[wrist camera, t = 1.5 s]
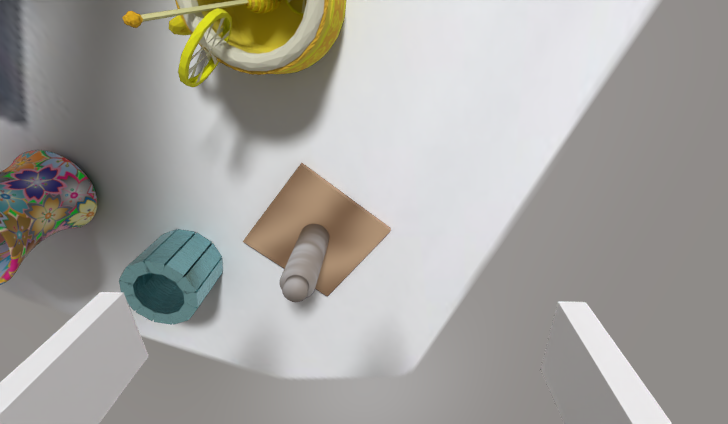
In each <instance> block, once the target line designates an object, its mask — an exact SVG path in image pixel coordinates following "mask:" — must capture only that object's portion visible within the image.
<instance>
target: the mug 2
mask: <svg viewBox="0 0 728 424" xmlns="http://www.w3.org/2000/svg"><path fill="white" fill-rule="evenodd" d="M175 1H176V5H177V8H178V9H175V10H169V11H162V12H155V13H149V14H142V15H140V14H136V13H135V12H133V11H128V12H127V13H126V15H124V16H123V17H122V18H123V21H124V23H125V24H126V25H129V26H131V27H134V28H138V27H139V26H140V25H141V23H142V22H144V21H150V20H155V19H161V18H167V17H173V16H176V17H175V18H173V19H172V20H171V21H169V30H170V31H172V32H173V33H174V34H178V35H191V36H190V38H189V40H188V42H187V43H186V46H185V48H184V50H183V52H182V55H181V59H180V64H179V70H178V73H179V77H180V81H181V82H183V83H184V84H185V85H187V86H190V87H196V86H198V85H199V84H201V83H202V82H203V81H204V80H205V79H206V78H207V77H208V76H209V75H210V74H211V72H212V71H213V70H214V69H215V67H216V66H217V65H218V63H219V62H220V63H223V64H224V65H226V66H228V67H230V68H232V69H234V70H238V71H240V72H244V73H248V74H258V75H261V74H287V73H294V72H298V71H300V70H303V69H305V68H307V67H309V66H311V65H313V64H314V63H316V62H317V61H319V60H320V59H321V58H322V57H323V56H324V55H325V54H326V53H327V52H328V51H329V50H330V48H331V47H332V45H333V44H334V42H335V41H336V39H337V38H338V36H339V33H340V30H341V27H342V24H343V21H344V18H345V9H346V0H175ZM198 43H199V45H200V46H201V47H202V48H201V50H203V49H204V51H205V53H206V55H207V58H208V60H209V62H208V64H207V65H206V67H205V64H206V61H207V59H206V61H205V64H204V66H203V68H202V71H201V72H200V73H199V74H198V75H197V76H195V77H194V74H195V71H196V68H197V65H198V64H199V63H200V62H201V61H202V60H203V59H204V58H205V56H206V55H205V56H204V57H203V58H202V59H201V60H200V61H199V59H200V56H201V54H200V56H199V58H198V61H197V63H196V64H195V65H194V66H193V67H191V68H190V69H189V64H190V61H191V60H192V59H193V58H194V57H195V56H196V55H197V54H198V53H199V51H200V50H199V51H198V52H197V53H196V54H195V55H193V52H194V50H195V48H196V46H197V45H198ZM201 53H202V51H201ZM192 55H193V56H192ZM204 67H205V68H204ZM193 69H194V70H193ZM192 70H193V73H192V75H191V77H190V79H188V76H189V74H190V73H191V72H192Z"/></svg>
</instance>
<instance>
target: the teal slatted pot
mask: <svg viewBox="0 0 728 424" xmlns="http://www.w3.org/2000/svg"><path fill="white" fill-rule="evenodd" d="M221 257H222V256H221V255H220V253H219V252H218V250H217V249H216V247H215V246H214V244H213V243H212V244H211V241H209V240H208V239H206V238H205V237H203V236H201V235H200V234H198V233H196V234H195V232H193V231H186V230H180V229H178V230H177V229H176V230H173V231H171V232H168V233H165V234H163V235H161V236H160V237H159V238H158V239H157V240H156V241H155V242H154V243H153V244H151V245H150V246H149V247H148V248H147V249H146V250H145V251H144V252H143V253H142V254H140V255H139V256H138V257H137V258H136V259H135V260H134V261H133V262H132V263H130V264H129V265H128V266H127V267H126V269H125V270H124V272H123V274H122V275H121V277H120V280H119V283H120V288H121V292H124V295H125V297H126V300H127V302H128V304H129V305H130V306H131V308H132V309H133V310H134V311H135V310H137V311H136V312H137V313H138V314H140V315H142V316H144V317H146V318H147V319H149V320H151V321H153V319H154V322H158V323H165V324H171V325H172V323H173V324H177V323H180V322H184V321H187V320H189V319H190V318H191V317H192V315H193V314H194V313H195V311H196V310H197V309H198V307H199V306H200V304H201V303H202V301H203V300H204V298H205V297H206V296H207V294H208V293H209V291H210V290H211V288H212V287H213V285H214V284H215V283H216V281H217V280H218V278H219V277H220V275H221V274H222V272H223V266H222V258H221Z"/></svg>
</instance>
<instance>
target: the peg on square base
mask: <svg viewBox="0 0 728 424" xmlns="http://www.w3.org/2000/svg"><path fill="white" fill-rule="evenodd" d="M390 231H391V228H390V227H388V226H387V225H386V224H384V223H383V222H382V221H380V220H379V219H378V218H376V217H375V216H374V215H372V214H371V213H369V212H368V211H367V210H365V209H364V208H363V207H361V206H360V205H359V204H357V203H356V202H355V201H353V200H352V199H350V198H349V197H348V196H346V195H345V194H344V193H342V192H341V191H340V190H338V189H337V188H336V187H334V186H333V185H331V184H330V183H329V182H327V181H326V180H325V179H323V178H322V177H321V176H319V175H318V174H317V173H315V172H314V171H312V170H311V169H310V168H308V167H307V166H306V165H304V164H303V163H301V164H300V166H299V167H298V168H297V170H296V171H295V172H294V174H293V175H292V176H291V178H290V179H289V180H288V182H287V183H286V184H285V186H284V187H283V188H282V190H281V191H280V192H279V194H278V195H277V196H276V198H275V199H274V200H273V202H272V203H271V204H270V206H269V207H268V208H267V210H266V211H265V212H264V214H263V215H262V216H261V218H260V219H259V220H258V222H257V223H256V224H255V226H254V227H253V228H252V230H251V231H250V233H249V234H248V235H247V237H246V238H245V239H244V241H243V242H244V243H246V244H247V245H249V246H250V247H252V248H253V249H255V250H257V251H258V252H260V253H261V254H263V255H264V256H266V257H267V258H269V259H270V260H272V261H273V262H275V263H277V264H278V265H280V266H281V267H283V268H284V271H283V274H282V276H281V278H280V287H281V289H282V292H283V295H284V297H285V298H286V299H288V300H290V301H292V302H300V301H303V300H304V299H305V298H307V297H309V296H311V295H312V294H313V292H314V290H315V289H317V290H318V291H320V292H321V293H323V294H324V295H326V296H328V295H329V294H330V293H331V292H332V291H333V290H334V289H335V288H336V287H337V286H338V285H339V284H340V283H341V282H342V281H343V280H344V279H345V278H346V277H347V276H348V275H349V273H350V272H351V271H352V270H353V269H354V268H355V267H356V266H357V265H358V264H359V263H360V262H361V261H362V260H363V259H364V258H365V257H366V256H367V255H368V254H369V253H370V252H371V251H372V250H373V249H374V248H375V247H376V246H377V245H378V243H379V242H380V241H381V240H382V239H383V238H384V237H385V236H386V235H387V234H388V233H389V232H390Z"/></svg>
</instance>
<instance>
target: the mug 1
mask: <svg viewBox="0 0 728 424" xmlns="http://www.w3.org/2000/svg"><path fill="white" fill-rule="evenodd" d="M96 210H97V196H96V192H95V189H94V187H93V185H92V183H91V181H90V180H89V178H88V177H87V176H86V174H85V173H84V172H83V171H82V170H81V169H80V168H79V167H78V166H76V165H75V164H74V163H73V162H71V161H70V160H68V159H66V158H64V157H62V156H60V155H58V154H55V153H52V152H48V151H41V150H35V151H28V152H25V153H23V154H21V155H19V156H18V157H17V158H16V159H15V160H14V161H13V163H12V164H11V165H10V166H9V167H8V168H7V169H5V170H3V171H2V172H0V285H1V284H3V283H5V282H7V281H8V280H10V279H11V278H12V277H13V275H14V274H15V273H16V271H17V269H18V267H19V266H20V264H21V262H22V261H23V259H24V258H25V257H26V256H27V254H28V253H29V252H30V251H31V250H32V249H33V248H34V247H35V246H36V245H37V244H39V243H40V242H41V241H42V240H44V239H45V238H47V237H48V236H50V235H52V234H54V233H56V232H58V231H61V230H64V229H72V228H78V227H81V226H84V225H86V224H87V223H89V222H90V221H91V219H92V218H93V217H94V215H95V213H96Z"/></svg>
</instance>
